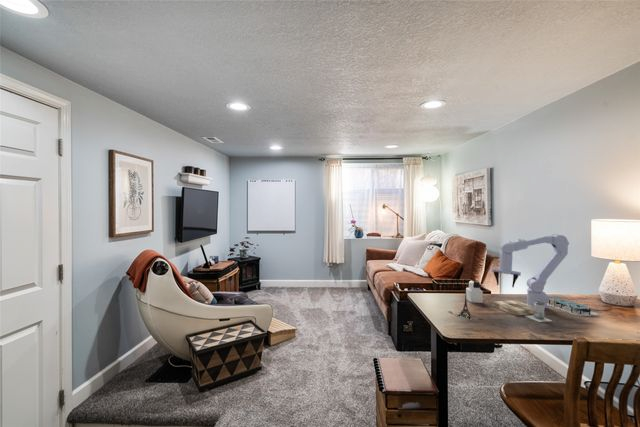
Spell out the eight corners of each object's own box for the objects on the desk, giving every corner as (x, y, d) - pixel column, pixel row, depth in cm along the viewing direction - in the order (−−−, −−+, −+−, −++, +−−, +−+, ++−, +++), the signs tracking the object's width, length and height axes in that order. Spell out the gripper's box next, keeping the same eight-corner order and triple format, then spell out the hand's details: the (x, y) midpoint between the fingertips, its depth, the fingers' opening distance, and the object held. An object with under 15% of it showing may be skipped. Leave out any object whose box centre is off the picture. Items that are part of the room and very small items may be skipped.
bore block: (515, 304, 177) (515, 300, 177) (540, 314, 161) (540, 309, 161) (492, 305, 173) (492, 301, 173) (515, 315, 158) (515, 310, 158)
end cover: (537, 316, 156) (538, 301, 156) (546, 319, 152) (546, 303, 152) (531, 316, 155) (531, 301, 155) (539, 320, 151) (540, 304, 151)
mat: (537, 315, 158) (537, 314, 158) (552, 321, 150) (552, 320, 150) (525, 316, 157) (525, 315, 157) (539, 322, 149) (539, 321, 149)
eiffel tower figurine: (446, 312, 162) (446, 287, 162) (460, 310, 166) (461, 286, 166) (468, 322, 148) (469, 295, 148) (483, 320, 152) (484, 294, 152)
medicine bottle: (477, 299, 186) (478, 280, 185) (482, 303, 179) (483, 283, 178) (465, 298, 186) (466, 279, 186) (470, 302, 179) (470, 282, 179)
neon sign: (623, 306, 164) (579, 309, 159) (623, 314, 164) (578, 317, 159) (583, 295, 185) (542, 297, 180) (582, 302, 185) (542, 304, 180)
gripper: (492, 262, 179) (490, 285, 179) (521, 265, 171) (519, 289, 171) (492, 260, 185) (491, 282, 185) (521, 264, 177) (519, 286, 177)
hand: (505, 285), depth 179 cm, fingers open, 7 cm apart
